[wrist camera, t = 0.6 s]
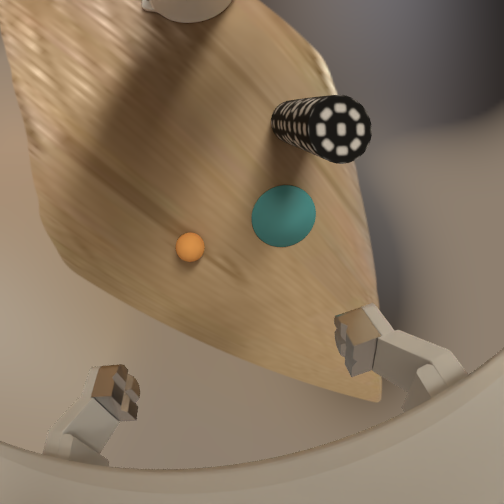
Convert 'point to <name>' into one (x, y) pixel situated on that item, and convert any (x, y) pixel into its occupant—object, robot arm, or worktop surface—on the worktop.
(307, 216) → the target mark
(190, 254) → the ball
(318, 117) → the spotted tube
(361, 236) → the worktop surface
